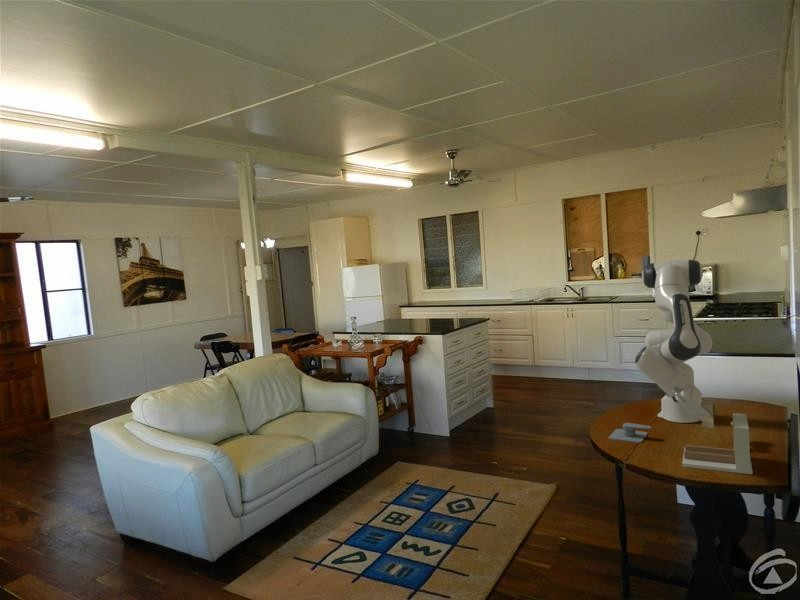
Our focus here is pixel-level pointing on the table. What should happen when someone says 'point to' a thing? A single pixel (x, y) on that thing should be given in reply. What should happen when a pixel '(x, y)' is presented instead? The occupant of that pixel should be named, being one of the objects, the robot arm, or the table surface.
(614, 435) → the shower valve
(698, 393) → the robot arm
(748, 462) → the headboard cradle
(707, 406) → the beige wooden block
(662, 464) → the table surface
